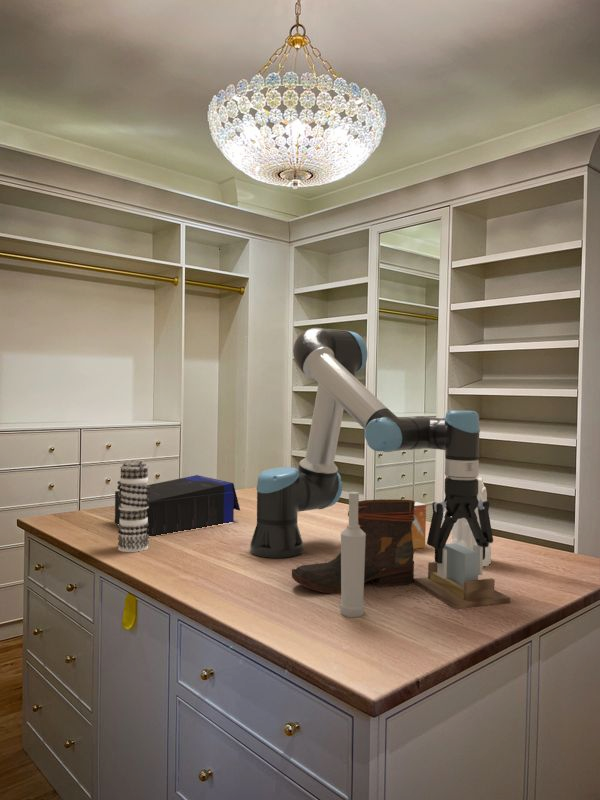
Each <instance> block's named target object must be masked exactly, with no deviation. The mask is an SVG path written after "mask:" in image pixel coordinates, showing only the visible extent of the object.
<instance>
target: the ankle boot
mask: <svg viewBox="0 0 600 800" xmlns="http://www.w3.org/2000/svg"><path fill="white" fill-rule="evenodd" d="M415 502H416V501H415V500H411V499H366V500H365V499H364V500H360V501H359V502H358V525H359V526H360V529H361V530H362V531H363V532H364V533H365V534H366V538H365V568H364V584H365V583H367V582H369V581H370V582H371V583H372V584H373V585H374V586H375V587H376V588H389V587H404V586H405V585H406V586H411V585H412V583H413V579H414V578H415V576H414V575H415V574H414V572H415V560H414V554H415V549H413V541H412V529H411V527H412V521H414V520H415V517H414V515H415V514H414V513H413V512H415V511H414V505H415ZM347 516H348V518H349V510H347ZM291 578H292V579H293V580H294V581H295V582H296V583H298V584H299V585H301V586H304V587H305V588H308V589H311V590H314V591H317V592H320V593H324V594H331V595H334V594H335V595H336V594H341V552H340V553H339V554H338V555H337V556H335V558H333V559H332V560H330V561H328V562H321V563H311V564H303V565H300V566H299V565H298V566H297V567H296V568H291ZM410 584H411V585H410ZM413 584H414V583H413ZM406 586H405V587H406Z"/></svg>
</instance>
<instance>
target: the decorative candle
mask: <svg viewBox="0 0 600 800" xmlns="http://www.w3.org/2000/svg"><path fill="white" fill-rule="evenodd" d="M146 463H147V462H145V461H144V460H129V461H125V462H124V463H122V465H121V466H119V468H120V477H119V481H117V484H118V485H117V490H118V491H120V492H119V493H118V496H119V498H118V502H119V503H121V504H120V505H119V506H118V507H119V509H120V524H119V525H117V528H119V529H118V531H117V533H118V534H119V535H118V537H117V540H118V543H117V546H118V551H120V552H123V553H138V551H139V552H143V550H144V551H146V550H148V549H149V542H150V540H149V539H150V537H149V535H148V534H147V532H149V529H148V528H147V527H148V526H149V523H148V517H147V508H149V504H148V503H147V502H148V501H149V500H150V499H149V498H148V497H147V494H150V492H149V491H147V489H150V486H149V485H150V484H148V483H149V477H148V475H149V474H148V468H149V465H147V464H146ZM147 485H148V486H147Z"/></svg>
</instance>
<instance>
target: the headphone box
mask: <svg viewBox="0 0 600 800" xmlns="http://www.w3.org/2000/svg"><path fill="white" fill-rule="evenodd" d="M148 485H149V486H150V489H147V491H149V492H150V494H147V497H148V498H149V499H150V500H149V501H148V502H147V503H148V504H149V508H147V517H148V523H149V526H148V527H147V528H148V529H149V532H147V534H148V535H149V536H155V537H157V536H156V535H161V534H167V533H173V532H178V531H184V530H191V529H196V528H202V527H207V526H212V525H218V524H223V523H229V522H234V520H235V519H234V516H235V515H234V514H235V513H234V510H237V511H238V512H239V511H241V509H240V508H241V507H240V504H239V501H238V500H239V499H238V497H237V496H238V495H237V493H236V488H235V484H234V482H230V481H225V480H222V479H221V480H220V479H216V478H212V477H207V476H203V475H199V474H198V475H197V474H195V475H191V476H186V477H180V478H177V479H172V480H171V479H170V480H167V481H160V482H158V483H157V482H156V483H151V484H147V486H148ZM119 492H120V490H117V491H114V524H115V523H117V524H120V509H119V507H118V506H119V505H120V504H121V503H119V502H118V498H119V496H118V493H119ZM117 524H116V525H117ZM161 536H162V535H161Z"/></svg>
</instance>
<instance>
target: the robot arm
mask: <svg viewBox="0 0 600 800" xmlns="http://www.w3.org/2000/svg"><path fill="white" fill-rule="evenodd" d="M292 354H293V356H292V357H293V359H294V362H295V365H296V366H297V367H298V369H299V370H300V371H301V372H302V373H303V374H304V375H305V376H306V377H307V378H309V379H314V380H315V381H316V382H317V390H316V396H315V401H314V406H313V407H314V408H313V413H312V418H311V424H310V429H309V436H308V441H307V447H306V452H305V457H304V458H302V459H301V460H299V464H298V469H297V468H295V467H288V466H283V467H274V468H269V469H265V470H263V471H261V472H260V473H259V475H258V476H257V483H256V484H257V485H256V526H255V528H254V532H253V535H252V538H251V541H250V550H249V552H250V553H251V554H253V555H255V556H256V557H261V558H272V559H279V558H280V559H283V558H292V557H295V556H299V555H301V554H302V553H304V542H303V538H302V535H301V531H300V529H299V526H298V513H300V512H304V511H305V512H306V511H315V510H323V509H326V508H329V507H333V506H334V505H335V504H336V503H338V501H339V499H341V496H342V493H343V481H341V480H342V477H341V475H340V473H339V472H338V471H339V468H338V466H337V465H336V463H335V458H336V453H337V448H338V442H339V441H338V440H339V436H340V431H341V427H342V421H343V414H344V410H345V411H346V412H347V413H348V414H349V415H350V416H351V417H352V418H353V420H355V421H356V423H357V424H358V425H359V426H360V427H361V428H362V429H363V430H364V439H365V440H366V443H367V446H368V447H369V448H370V449H371V450H373V451H375V452H385V453H391V452H397V451H407V450H409V451H410V450H426V449H430V450H441V451H444V476H446V477H445V479H444V495H445V496H444V497H445V498H444V499H443V501H442V502H441V501H440V502H436V501H433V502H432V505H431V506H432V515H431V516H432V517H431V521H430V526H429V530H428V535H427V539H426V540H427V541H426V544H427V546H430V547H432V548H434V562H437V575H438V576H439V577H441V578H443V579H447V550H446V549H444V546H445V544H447V542H448V539H449V537H450V535H451V534H452V528H453V526H454V523H456V522H457V520H458V519H461V518H465V519H466V520H467V521H468V524H469V526H470V529H471V531H472V533H473V536H474V538H475V541H476V543H477V544H473V551H474V552H477V553H478V576H483V568H484V567H483V560H484V559H485V547H488V546H489V543H490V544H492V543H494V537H493V530H492V526H491V519H490V513H489V509H490V502H489V501H488V500H487V501H484V500H478V499H477V495H478V480H477V479H476V477H478V478H479V467H480V466H479V463H480V462H479V461H480V460H479V452H480V451H479V447H480V446H479V445H480V433H481V432H480V431H481V429H480V416H479V414H478V412H477V411H475V410H455V409H454V410H447V411H446V413H445V416H444V417H443V418H440V417H428V416H427V417H426V416H422V415H421V416H410V417H398V416H397V415H396V414H395V413H394V412H393V411H391V410H390V409H389V408H388V407H387V406H386V405H384V403H383V402H382V401H380V400H379V399H378V397H376V396H375V394H373V393H372V391H370V390H369V389H368V388H367V387H366V386H365V385H364V384H363V383H362V382H361V381H359V379H357V378H356V374H357V373H358V372H359V371H361V370H363V368H364V367H365V366H366V365H367V364H366V363H367V360H368V347H367V344H366V342H365V341H364V338H363V337H362V336H361V335H360V334H359V333H357V332H354V331H349V330H344V329H335V328H333V329H332V328H322V327H311V328H307V330H306V329H305V330H304V331H302V332H301V333H299V335H298V336H297V338H296V339H295V341H294V344H293V348H292ZM476 507H477V508H478V514H479V520H480V526H481V528H480V526H479V523H478V521H477V519H478V518H477V516H476V513H475V509H476ZM445 509H446V510H445ZM445 511H446V512H445ZM444 512H445V514H444ZM443 518H444V519H443Z"/></svg>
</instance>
